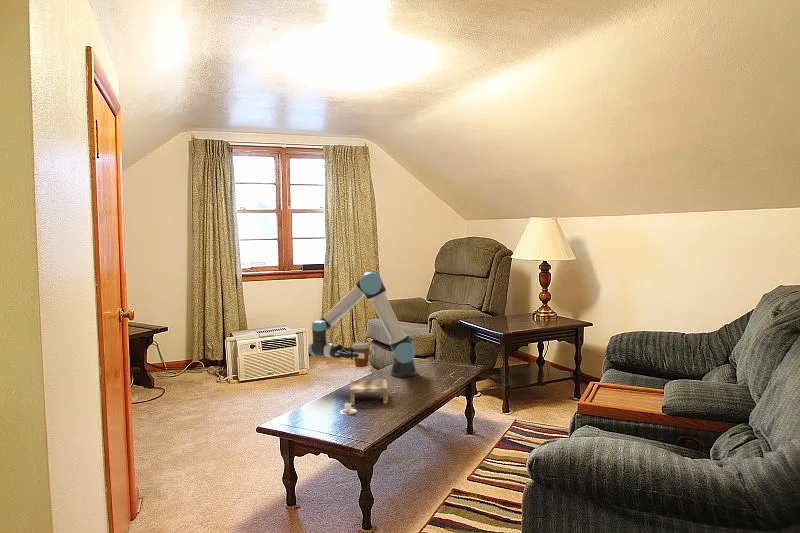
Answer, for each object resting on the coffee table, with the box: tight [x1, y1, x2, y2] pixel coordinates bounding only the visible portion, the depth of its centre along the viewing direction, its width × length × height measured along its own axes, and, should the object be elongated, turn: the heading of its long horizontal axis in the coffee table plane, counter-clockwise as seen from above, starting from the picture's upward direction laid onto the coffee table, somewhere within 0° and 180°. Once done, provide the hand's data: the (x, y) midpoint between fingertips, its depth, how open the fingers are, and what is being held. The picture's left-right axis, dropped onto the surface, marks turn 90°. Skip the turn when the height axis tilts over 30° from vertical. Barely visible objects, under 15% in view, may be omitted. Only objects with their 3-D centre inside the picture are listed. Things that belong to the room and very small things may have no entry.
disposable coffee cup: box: [351, 341, 371, 368], centre depth 296 cm, size 10×10×12 cm
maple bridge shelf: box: [349, 378, 389, 406], centre depth 280 cm, size 18×16×8 cm
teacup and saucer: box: [339, 402, 358, 415], centre depth 261 cm, size 9×8×4 cm
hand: (368, 354), depth 294 cm, fingers closed on disposable coffee cup, 8 cm apart
